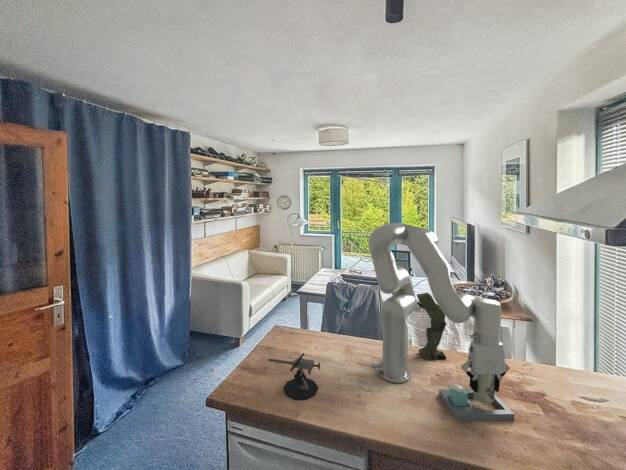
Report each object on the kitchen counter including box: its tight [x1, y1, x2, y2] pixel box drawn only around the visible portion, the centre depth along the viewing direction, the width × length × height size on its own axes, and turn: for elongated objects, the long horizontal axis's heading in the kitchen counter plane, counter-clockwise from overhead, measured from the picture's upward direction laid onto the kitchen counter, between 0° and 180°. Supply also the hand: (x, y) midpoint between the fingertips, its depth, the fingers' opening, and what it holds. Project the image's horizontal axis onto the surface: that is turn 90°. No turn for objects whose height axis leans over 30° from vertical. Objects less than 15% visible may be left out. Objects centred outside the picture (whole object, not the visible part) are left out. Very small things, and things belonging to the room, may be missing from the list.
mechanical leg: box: [416, 292, 447, 361], centre depth 133 cm, size 14×7×30 cm, turn 84°
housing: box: [438, 388, 515, 422], centre depth 101 cm, size 18×13×2 cm
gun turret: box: [268, 352, 321, 401], centre depth 111 cm, size 13×20×13 cm, turn 73°
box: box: [473, 367, 496, 406], centre depth 100 cm, size 5×4×13 cm
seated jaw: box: [449, 384, 469, 407], centre depth 100 cm, size 4×4×7 cm
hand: (484, 389), depth 100 cm, fingers closed on box, 6 cm apart
